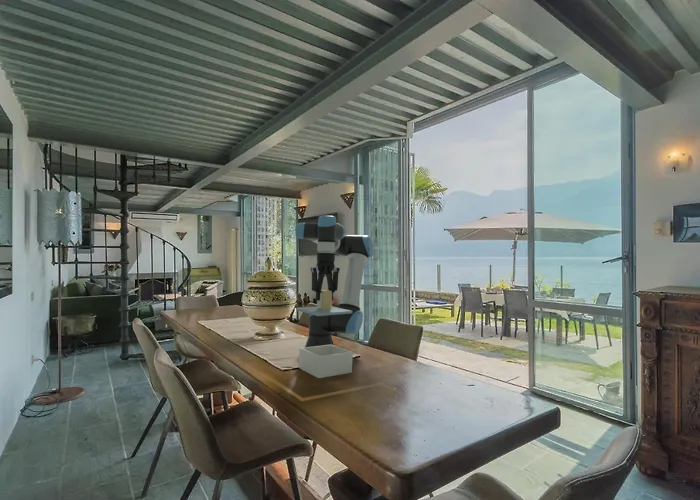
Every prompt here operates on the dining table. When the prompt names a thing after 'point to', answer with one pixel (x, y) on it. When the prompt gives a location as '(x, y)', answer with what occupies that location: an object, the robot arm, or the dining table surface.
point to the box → (325, 360)
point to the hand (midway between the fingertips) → (324, 307)
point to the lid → (324, 307)
